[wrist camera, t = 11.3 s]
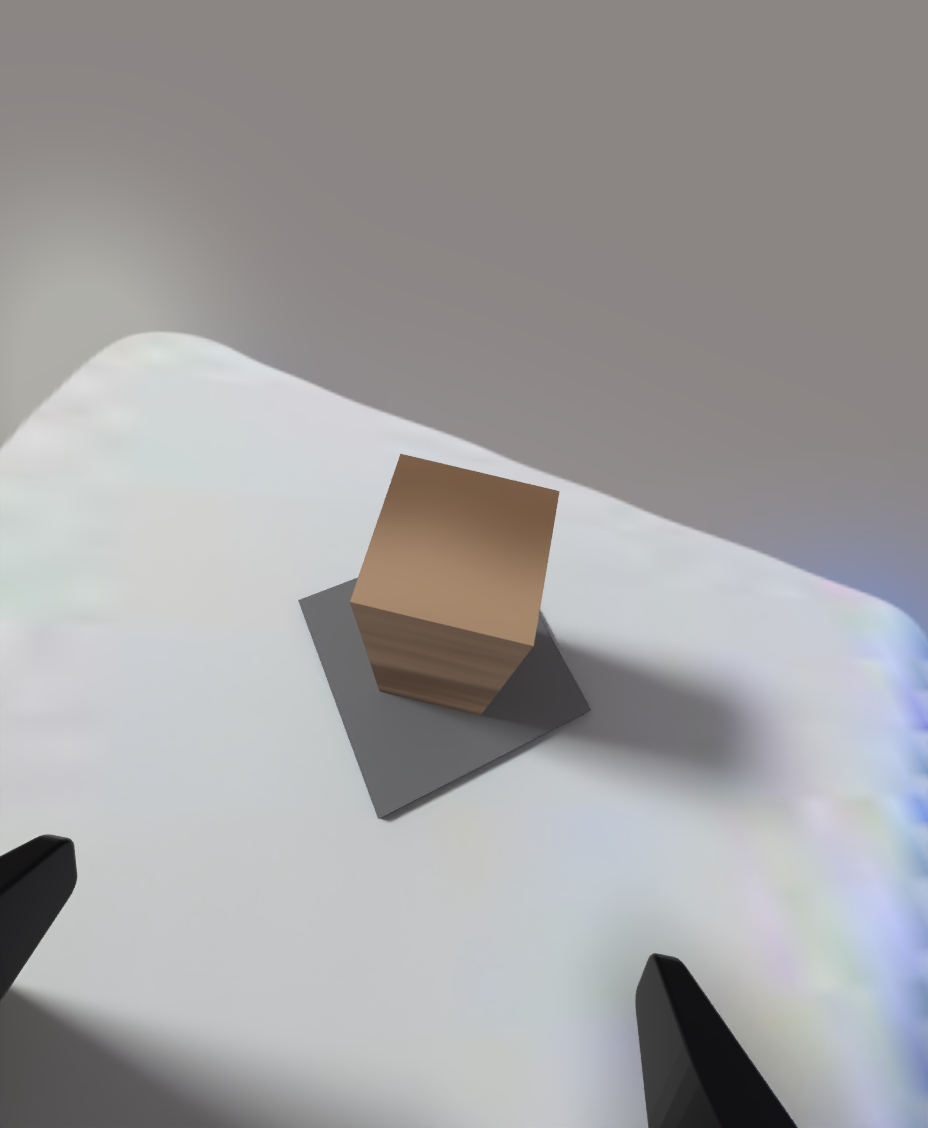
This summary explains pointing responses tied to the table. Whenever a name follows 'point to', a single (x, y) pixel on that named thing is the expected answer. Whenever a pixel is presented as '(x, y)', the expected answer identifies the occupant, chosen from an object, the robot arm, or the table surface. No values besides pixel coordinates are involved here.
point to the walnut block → (453, 582)
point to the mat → (431, 709)
